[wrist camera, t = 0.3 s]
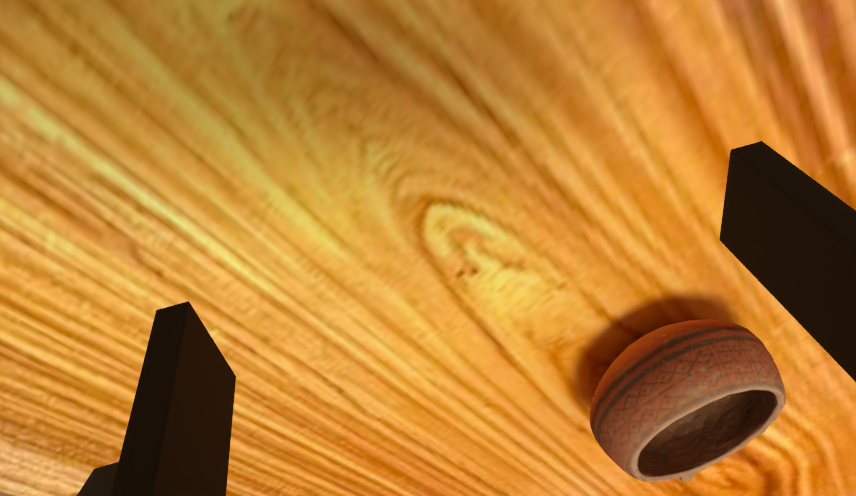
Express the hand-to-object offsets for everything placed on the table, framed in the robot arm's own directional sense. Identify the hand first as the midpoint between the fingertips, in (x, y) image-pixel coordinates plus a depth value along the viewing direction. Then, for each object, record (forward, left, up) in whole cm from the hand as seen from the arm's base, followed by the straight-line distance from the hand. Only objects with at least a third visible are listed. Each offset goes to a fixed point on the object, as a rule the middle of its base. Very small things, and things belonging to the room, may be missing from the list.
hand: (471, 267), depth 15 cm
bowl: (+36, +17, -23) cm, 46 cm away
